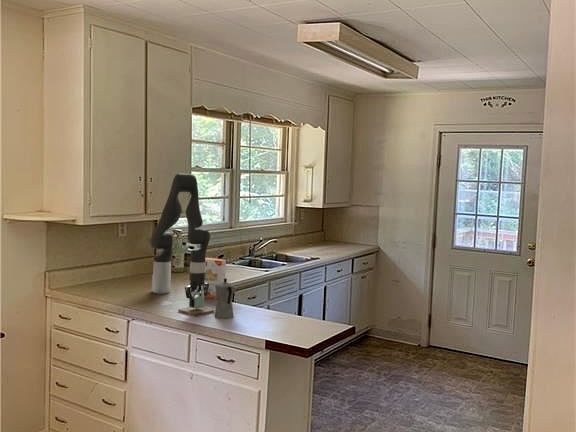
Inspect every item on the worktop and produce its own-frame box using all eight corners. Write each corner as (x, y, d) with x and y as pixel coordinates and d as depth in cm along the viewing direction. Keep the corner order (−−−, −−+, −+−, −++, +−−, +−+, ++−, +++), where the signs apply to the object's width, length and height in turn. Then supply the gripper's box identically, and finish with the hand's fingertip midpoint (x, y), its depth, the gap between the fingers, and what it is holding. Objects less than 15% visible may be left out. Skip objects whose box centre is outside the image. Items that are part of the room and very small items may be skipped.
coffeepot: (210, 313, 273) (211, 276, 272) (229, 312, 277) (230, 275, 276) (219, 321, 259) (221, 282, 258) (239, 320, 263) (241, 281, 261)
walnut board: (178, 311, 273) (178, 309, 273) (197, 307, 283) (197, 305, 282) (195, 316, 266) (195, 314, 266) (214, 312, 275) (214, 309, 275)
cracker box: (196, 297, 306) (197, 258, 304) (201, 294, 311) (202, 256, 310) (220, 299, 301) (221, 260, 300) (225, 297, 307) (226, 259, 306)
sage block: (189, 306, 274) (189, 296, 273) (196, 305, 277) (197, 295, 277) (196, 308, 270) (196, 298, 270) (204, 307, 274) (204, 296, 274)
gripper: (203, 268, 280) (202, 302, 282) (180, 271, 269) (179, 307, 271) (214, 270, 276) (212, 305, 277) (191, 273, 265) (190, 310, 266)
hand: (196, 305), depth 274 cm, fingers closed on sage block, 4 cm apart
